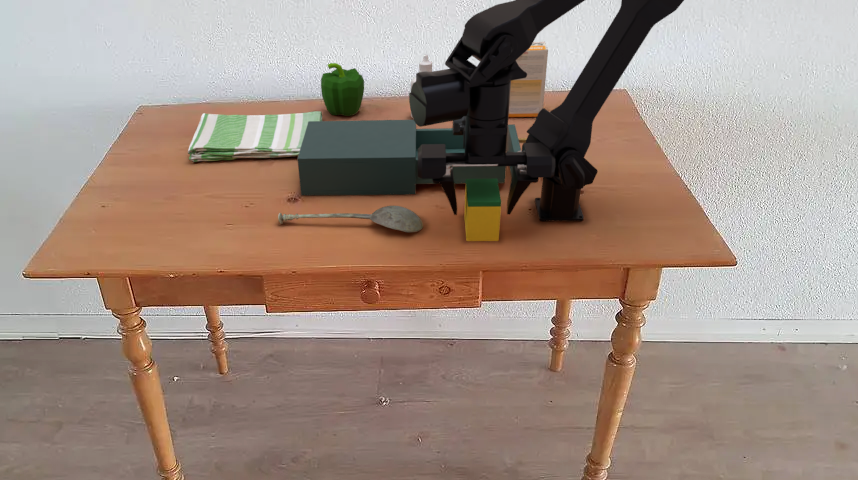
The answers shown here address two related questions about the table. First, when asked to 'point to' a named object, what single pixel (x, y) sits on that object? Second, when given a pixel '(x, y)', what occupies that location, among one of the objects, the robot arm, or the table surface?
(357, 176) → the cabinet
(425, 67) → the eye dropper bottle
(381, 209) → the soupspoon
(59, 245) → the table surface
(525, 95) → the supplement box
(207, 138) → the dish towel
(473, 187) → the sponge
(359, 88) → the bell pepper
